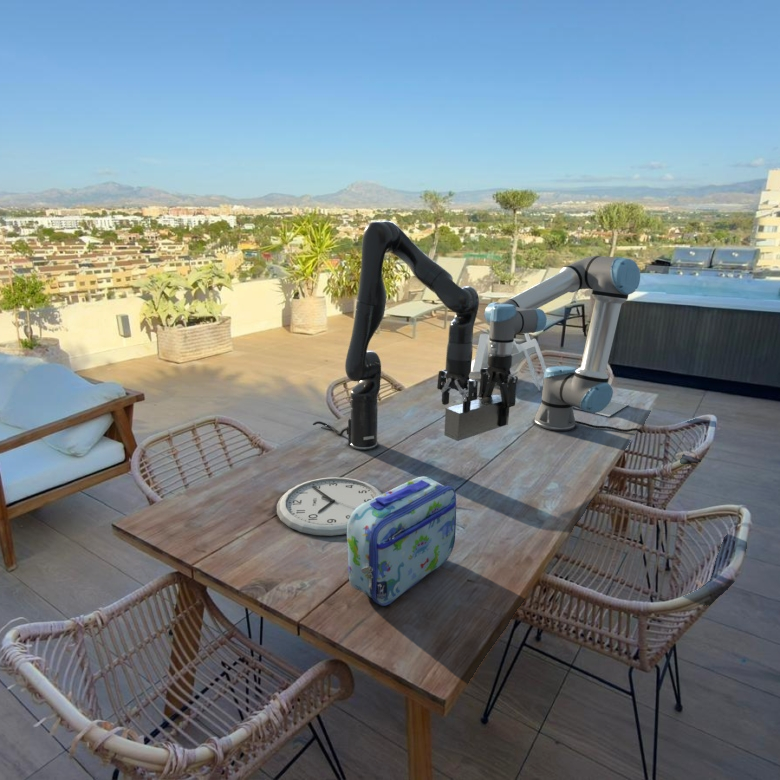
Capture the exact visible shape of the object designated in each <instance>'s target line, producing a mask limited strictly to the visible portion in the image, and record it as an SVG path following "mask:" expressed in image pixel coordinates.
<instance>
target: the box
mask: <svg viewBox="0 0 780 780" xmlns="http://www.w3.org/2000/svg"><path fill="white" fill-rule="evenodd" d="M501 406H503V405H502V399H501V394H492V395H491V396H489V397H485V398H477V399H476V400H472V401H471V406H470V411H469V412H467V413H463V412H462V411H463V403H460V404H456V405H453V406H449V407H445V411H444V412H445V414H444V431H443V432H444V436H445V437H447V438H450V439H452V440H454V441H456V442H460V441H462V440H465V439H468V438H471V437H474V436H478V435H480V434H481V435H482V434H483V433H486V432H489V431H493V430H496V429H498V428H501V427H506V426H508V425H509V417H510V414H509V415H508V417H507V421H506V425H504V426H501V427H500V426H499V419H500V407H501ZM510 408H511V407H509V409H510Z"/></svg>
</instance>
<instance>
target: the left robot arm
mask: <svg viewBox="0 0 780 780" xmlns="http://www.w3.org/2000/svg"><path fill="white" fill-rule="evenodd" d="M361 240H362V241H361V264H360V265H361V266H360V274H359V281H358V290H357V296H356V302H355V309H354V319H353V323H352V324H353V326H352V331H351V335H350V336H351V337H350V341H349V344H348V348H347V353H346V357H345V363H344V369H345V375H346V376H347V378H348V379H349V381H352V382H358V383H357V384H356V385H355V386H354V387H352V388H351V390H350V397H349V398H350V418H348V420H347V424H348V425H347V427H344V428H343V429H341V431H339V430H338V429H336V428H335V427H334V426H332V425H330V424H328V425H327V423H326V422H323V421H320V420H317V421H314V422H313V423H312V426H316V425H318V424H319V425H322V426H324V427H326V428H328V429H331V430H332V431H333V432H335V434H337V435H339V436H341V435H343V434H344V433H345V432H346V435H348V436H347V437H348V438H347V439H348V441H347V444H348V446H350V447H351V448H353V449H355V450H358V451H370V450H373V449H376V448H377V447H378V415H379V414H378V409H379V407H378V404H379V403H378V400H379V399H378V397H379V392H380V390H381V380H382V377H381V376H382V362H381V358H380V356H379V355H378V353H376V352H375V351H373V350H368V347H369V344H370V342H371V340H372V338H373V336H374V335H375V333H376V332H377V331H378V329H379V327H380V325H381V323H382V322H383V320H384V317H385V311H386V307H387V306H386V305H387V290H386V285H385V283H384V278H383V268H384V267H383V266H384V261H385V256H386V254H391V255H394V256H395V257H398V258H399V259H400V260H402V261H403V262H404V263H405V264H406V265H407V266H408V268H409V269H410V271H411V272H412V274H413V276H414V277H415V278H416V279H417V280H418V281H419V282H420V283H421V284H422V285H423V286H425V287H426V288H427V289H428V290H429V291H431V292H432V293H433V294H435V295H436V297H437V298H438V299H439V301H440V302H441V303H442V304H443V305H444V306H445V307H446V308H447V309H448V310H449V311H451V312H453V313H454V317H453V320H451V322H450V323H449V326H448V337H447V346H446V356H445V369H443V370H439V371H438V374H437V375H438V377H437V387H436V388H437V390H440V391H441V404H442V405H444V406H447V405H449V404H450V391H451V390H455V391H456V392H459V395H460V396H461V397H462V400H463V401H462V404H463V411H462V412H463V413H467V412H469V411H470V406H471V401H474V400H478V385H479V384H478V383H479V382H478V380H477V379H470V376H469V374H470V372H471V365H472V361H473V350H474V349H473V339H474V325H475V323H476V319H477V315H478V312H479V307H480V306H479V305H480V297H479V293H478V292H477V290H476V289H475V288H474V287H472V286H459V285H458V284H457V283H456V282H455V281H454V278H453V276H452V274H451V273H450V272H448V271H447V270H446V269H445V268H443V267H442V266H441V265H440V264H438V263H437V262H436V261H434V260H433V259H432V258H430V257H429V256H428V255H427V254H425V253H424V252H423V250H421V249H420V248H419V246H417V245H416V244H415V243H414V242H413V241H412V240H411V239H410V238H409V237H408V235H407V234H406V233H405V232H404V231H403V230H402V229H401V227H400V226H398V225H397V224H396V223H395V222H393V221H390V220H379V221H372V222H370V223H368V224H367V225H366V227H365V228H364V229H363V235H362V238H361ZM325 425H327V426H325Z"/></svg>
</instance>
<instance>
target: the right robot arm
mask: <svg viewBox="0 0 780 780" xmlns="http://www.w3.org/2000/svg"><path fill="white" fill-rule="evenodd" d="M640 282H641V270H640V267H639V265H638V264H637V262H636V261H635V260H633V259H631V258H627V257H622V256H601V255H592V256H587V257H584V258H581V259H579V260H576V261H574V262H572V263H570V264H568V265H566V266H563V267H562V268H561V269H560V270H559V272H558V273H557V274H554V275H552V276H551V277H548V278H547V279H545V280H543V281H541V282H539V283H537V284H535V285H533V286H531V287H530V288H528V289H526V290H524V291H522V292H519V293H518V294H516V295H514V296H512V297H510V298H508V299H506V300H504V301H502V302H498V301H497V302H491V303H489V304H488V305H487V306H486V307H485V310H484V318H485V321H486V322H487V323H489V334H488V335H489V350H488V352H489V354H488V362H487V364H488V368H483V369H481V370H480V372H481V377H480V381H479V382H480V383H479V391H478V398H479V399H482V398H485V397H489V396H493V393H494V389H495V386H496V384H497V385H498V387H499V392H500V396H501V399H502V405H503V406H501V407H500V419H499V426H500V427H499V428H501V426H502V427H505V426H507V425H506V421H507V417H508V415H509V416H510V408H513V407H515V406H516V395H517V394H516V393H517V382H518V379H519V378H518V376H517V375H515V376H514V375H513V374H512V372H511V368H512V367H511V364H512V355H511V354H512V353H513V341H514V340H515V335H521V334H524V333H529V334H534V333H538V332H541V331H543V330H544V329H545V328H546V326H547V314H546V313H545V311H544V310H543V309H541V307H543V306H545V305H547V304H549V303H550V302H553V301H554V300H556V299H558V298H560V297H562V296H564V295H566V294H568V293H576V292H578V291H579V290H592V293H591V296H592V298H593V299H594V304H593V309H592V312H591V313H592V314H591V317H590V323H589V326H588V332H587V336H586V341H585V345H584V349H583V354H582V358H581V363H580V367H578V368H577V367H574V366H566V365H565V366H564V365H557V366H550V367H546V368H547V369H546V370H545V375H544V374H543V381H542V392H541V402H540V405H539V407H538V410H537V411H536V413H535V417H534V424H535V425H536V426H537V427H539V428H542V429H544V430H549V431H556V432H567V431H572V430H574V429H575V428H576V424H578V425H582V426H586V427H589V428H595V429H608V430H613V431H618V432H624V433H628V432H629V433H630V432H635V431H636V432H638V433H640V434H643V431H642V429H640V428H637V427H633V428H625V429H624V428H618V427H614V426H609V425H595V424H591V423H588V422H587V423H586V422H582V421H579V420H576V418H575V417H576V416H575V413H574V407H577V408H579V409H578V410H580V409H581V411H583V412H587V413H590V414H596V413H597V412H600V411H602V410H603V409H604V408H605V407H606V406H607V405H608V404H609V402H610V401H612V399H613V395H614V390H613V386H612V385H611V384H610V383H609V380H610V376H609V375H608V373H607V368H608V363H609V359H610V355H611V350H612V346H613V341H614V338H615V333H616V329H617V324H618V321H619V316H620V313H621V308H622V305H623V304H624V303H625V302H627V301H628V299H629V295H632V294H634V293H635V292H636V290H637V289H638V288H639V286H640ZM510 367H511V368H510ZM509 407H510V408H509ZM504 425H505V426H504Z"/></svg>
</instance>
